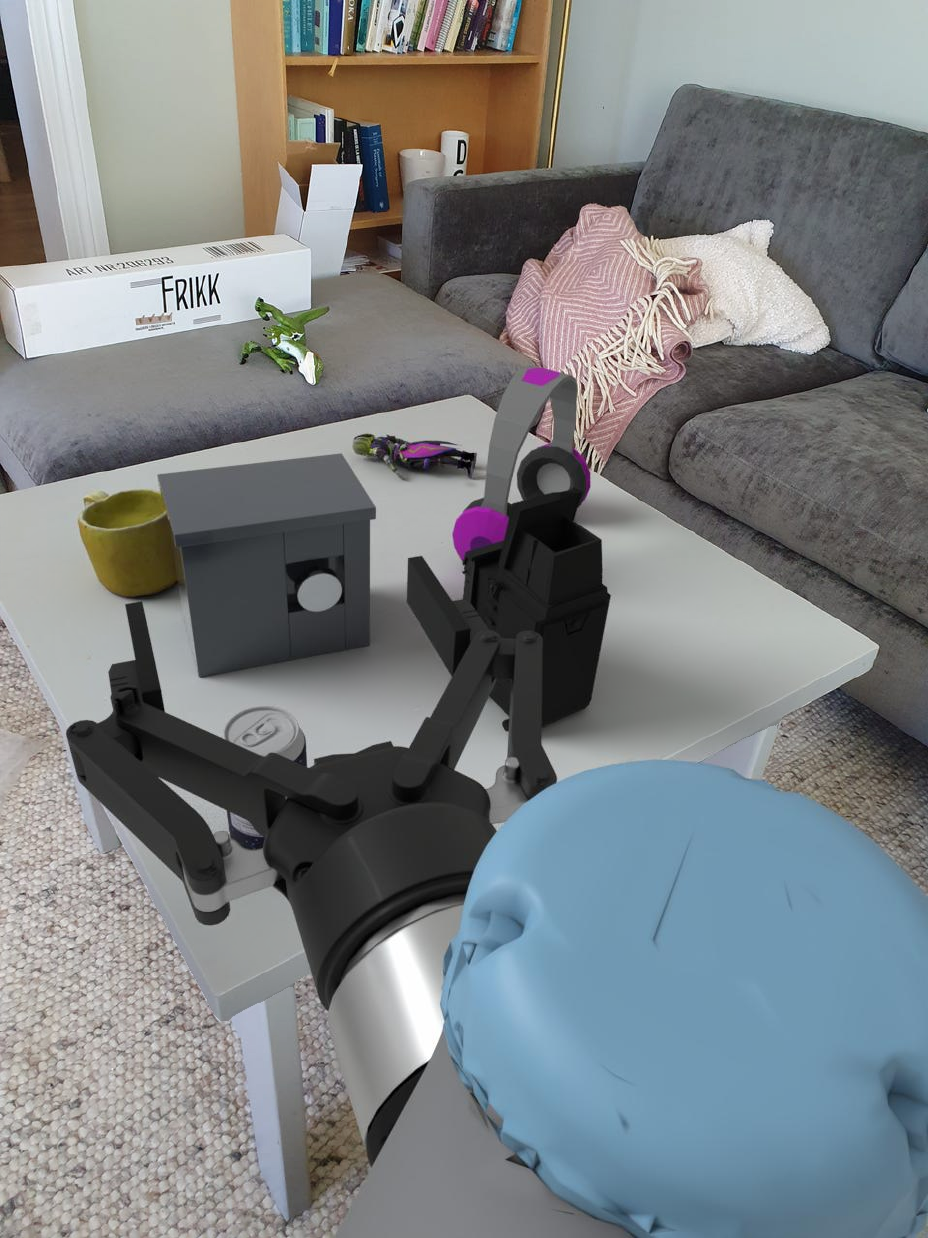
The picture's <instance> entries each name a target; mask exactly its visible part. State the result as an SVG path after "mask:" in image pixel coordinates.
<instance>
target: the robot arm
mask: <svg viewBox="0 0 928 1238" xmlns="http://www.w3.org/2000/svg"><path fill="white" fill-rule="evenodd" d="M406 579H407V580H406V604H407V605H408V606H409V608H410V610H411V612H412V613H413V615H414V617H415V618H416V620H417V622H418V623H419V625H420V627H421V628H422V630H423V631H424V633H425V635H426V637H427V638H428V640H429V641H430V643H431V645H432V646H433V648H434V650H435V652H436V654H437V655H438V656H439V658H440V659H441V662H442V663H443V665H444V666H445V668H446V670H447V671H448V674H449V675H450V677H451V678H450V680H449V682H448V684H447V686H446V687H445V689H444V691H443V693H442V694H441V697H440V698H439V700H438V702H437V704H436V706H435V707H434V709H433V711H432V713H431V715H430V716H426V717H425V718H424V720H423V721H422V723H421V725H420V727H419V729H418V730H417V732H416V734H415V736H414V738H413V739H412V741H411V743H410V745H409V747H405V746H400V745H394V744H393V742H392V740H388V741H385V742H384V741H383V742H381V743H376V744H372V745H370V746H368V747H365V748H363V749H361V750H359V751H357V752H352V753H335V754H333V753H332V754H328V755H324V756H320V757H317V758H313V765H312V766H309V767H308V766H307V767H306V766H303V765H301V764H299V763H297V762H294V761H292V760H290V759H288V758H286V757H283V756H281V755H279V754H277V753H273V752H272V753H269V754H268V755H267V756H261V755H258V754H256V753H254V752H252V751H250V750H247V749H245V748H243V747H241V746H239V745H236V744H234V743H232V742H230V741H228V740H225V739H223V738H222V737H221V736H218V735H216V734H215V733H213V732H210V731H208V730H206V729H203V728H201V727H199V726H198V725H197V726H196V725H195V724H193V723H190V722H188V721H185V720H183V719H181V718H179V717H177V716H175V715H172V714H170V713H168V712H166V710H165V703H164V698H163V693H162V692H163V691H162V686H161V683H160V678H159V674H158V669H157V664H156V660H155V655H154V651H153V650H154V649H153V646H152V640H151V636H150V631H149V626H148V623H147V616H146V612H145V607H144V603H143V601H136V602H130V603H129V602H128V603H125V604H124V606H125V607H124V608H125V611H126V617H127V622H128V623H127V624H128V627H129V632H130V639H131V643H132V649H133V655H134V659H132V660H126V661H122V662H116V663H111V665H110V668H109V669H108V680H109V686H110V687H109V688H110V701H111V707H112V712H111V714H110V715H109V716H108V717H106V718H105V719H103V720H102V721H99V722H96V721H94V720H92V719H91V720H90V719H83V720H78V721H75V722H73V723H72V724H70V725H69V726H68V728H67V729H66V730H65V736H66V740H67V744H68V748H69V751H70V755H71V759H72V763H73V766H74V767H73V768H74V770H75V774H76V778H77V781H78V782H79V784H81V786H83V787H84V788H85V789H86V790H87V791H88V792H89V793H90V794H91V795H92V796H93V797H94V799H96V800H97V801H98V802H99V803H100V804H101V805H102V806H103V807H104V808H105V809H107V810H108V811H109V812H110V814H112V815H113V817H115V818H116V819H117V820H118V821H119V822H120V823H121V824H122V825H123V826H124V827H125V828H126V829H127V830H128V831H129V832H130V833H131V834H132V835H133V836H135V838H136V839H138V840H139V841H140V842H141V843H142V844H143V845H144V846H145V847H146V848H147V849H148V850H149V851H150V852H151V853H152V854H153V855H154V856H155V857H157V859H159V860H160V861H161V862H162V863H163V864H164V865H165V866H166V867H167V868H168V869H169V870H170V871H171V872H172V873H173V874H174V875H175V876H176V877H177V878H178V879H179V880H180V881H181V882H182V883H183V886H184V889H185V892H186V894H187V898H188V900H189V903H190V906H191V909H192V911H193V914H194V917H195V919H196V921H197V922H198V923H200V924H202V925H204V926H209V927H211V926H216V925H219V924H221V923H222V922H225V920H227V918H228V917H229V916H230V913H231V903H230V902H232V901H234V900H237V899H241V898H242V897H245V896H248V895H251V894H254V893H256V892H259V891H261V890H264V889H267V888H269V887H273V888H274V889H276V890H277V891H278V892H280V894H281V895H283V896H284V897H285V899H286V900H287V901H288V903H289V905H290V907H291V909H292V913H293V916H294V920H295V923H296V926H297V930H298V932H299V936H300V939H301V943H302V946H303V950H304V953H305V957H306V959H307V964H308V966H309V970H310V972H311V977H312V980H313V983H314V987H315V990H316V993H317V996H318V999H319V1001H320V1004H321V1005H322V1006H323V1007H324V1009H325V1010H326V1011H327V1025H328V1033H329V1037H330V1040H331V1044H332V1047H333V1050H334V1052H335V1056H336V1060H337V1063H338V1066H339V1069H340V1072H341V1075H342V1079H343V1082H344V1086H345V1088H346V1092H347V1096H348V1098H349V1101H350V1105H351V1107H352V1111H353V1114H354V1118H355V1120H356V1124H357V1127H358V1130H359V1134H360V1137H361V1140H362V1143H363V1147H364V1150H365V1152H366V1157H367V1160H368V1163H369V1166H370V1170H369V1171H368V1173H367V1175H366V1177H365V1178H364V1180H363V1183H362V1184H361V1185H360V1188H359V1189H358V1191H357V1194H356V1195H355V1197H354V1199H353V1200H352V1203H350V1206H349V1208H348V1210H347V1212H346V1214H345V1215H344V1217H343V1219H342V1221H341V1223H340V1225H339V1226H338V1228H337V1230H336V1232H335V1234H334V1236H333V1238H917V1237H918V1236H919V1235H920V1234H921V1233H922V1232H923V1231H924V1230H925V1229H926V1224H927V1221H928V896H927V895H926V894H925V893H924V891H922V889H921V888H920V887H919V886H918V885H917V883H916V882H915V881H914V880H913V879H912V878H911V877H910V875H909V874H908V873H907V872H906V871H905V869H903V868H902V867H901V866H900V864H898V862H897V861H895V860H894V858H893V857H892V856H890V855H889V854H888V852H886V851H885V850H884V849H883V848H882V847H881V846H880V845H879V844H878V843H876V841H874V840H873V839H872V838H871V836H869V835H867V834H866V833H865V832H863V831H862V830H861V829H859V828H858V827H857V826H856V825H854V824H853V823H851V822H850V821H849V820H848V819H846V818H845V817H843V816H842V815H840V814H838V813H837V812H835V811H833V810H832V809H830V808H828V807H827V806H825V805H824V804H822V803H820V802H819V801H818V802H817V801H816V800H814V799H811V798H810V797H808V796H806V795H804V794H802V793H799V792H797V791H796V792H795V791H781V790H780V789H779V788H777V787H775V786H774V785H772V784H771V783H769V782H768V781H766V780H765V779H757V778H748V777H745V776H743V775H742V774H741V773H739V772H738V771H736V770H734V769H733V768H729V767H726V766H721V765H718V764H717V765H716V764H712V763H708V762H700V761H699V762H698V761H688V760H676V759H645V760H643V759H642V760H635V761H628V762H627V761H626V762H620V763H613V764H607V765H604V766H600V767H594V768H591V769H587V770H586V769H585V770H584V771H581V772H579V773H576V774H573V775H569V776H568V777H565V778H563V779H561V780H559V781H558V776H557V773H556V771H555V769H554V767H553V764H552V763H551V761H550V759H549V757H548V755H547V752H546V751H545V749H544V748H545V747H544V746H543V744H542V741H543V739H542V734H543V727H542V654H543V639H542V636H541V635H540V634H538V633H536V632H534V631H522V632H520V633H518V634H517V637H516V639H506V638H501V637H500V635H499V634H498V633H497V632H495V631H492V630H489V629H488V627H487V626H486V624H485V623H484V622H483V620H482V619H481V617H480V616H479V614H478V613H477V611H476V610H475V609H474V607H473V606H472V604H471V603H469V602H467V601H466V600H464V599H463V598H462V599H456V600H452V598H451V597H450V595H449V594H448V592H447V591H446V590H445V588H444V587H443V584H442V583H441V582H440V580H439V579H438V577H437V575H436V574H434V571H433V570H432V568H431V566H429V564H428V563H427V561H426V560H425V558H424V557H423V555H418V556H411V557H408V558H407V577H406ZM496 678H499V679H511V697H510V715H509V716H508V719H509V732H508V735H507V736H508V737H507V752H506V753H507V755H506V759H505V762H504V765H502V766H500V767H498V768H497V770H496V772H495V779H494V783H493V785H492V786H490V787H488V788H485V786H483V784H481V783H480V782H479V781H478V780H475V779H474V778H472V777H469V776H467V775H466V774H463V773H462V772H459V771H457V770H456V767H457V765H458V762H459V761H460V758H461V756H462V754H463V752H464V750H465V748H466V746H467V744H468V742H469V739H470V737H471V736H472V734H473V731H474V729H475V727H476V725H477V723H478V721H479V718H480V717H481V714H482V712H483V711H484V708H485V706H486V704H487V702H488V700H489V698H490V696H489V695H490V693H491V691H492V690H493V693H494V694H495V688H496ZM164 781H165V782H164ZM166 782H168V783H169V784H172V785H174V786H176V787H178V788H180V789H181V790H184V791H185V792H188V793H190V794H192V795H194V796H196V797H199V798H201V800H204V801H206V802H209V803H210V804H212V805H215V806H216V807H219V808H220V809H223V810H225V811H226V812H227V811H229V812H231V813H233V814H235V815H237V816H239V817H241V818H243V819H245V820H247V821H249V822H250V823H251V824H252V826H253V827H254V829H255V830H256V831H257V832H258V833H259V834H260V835H262V836H263V837H265V840H264V844H263V848H261V849H257V850H249V849H245V848H243V847H241V845H240V844H239V843H238V842H237V841H236V840H234V839H232V838H230V833H229V832H227V831H225V830H218V831H215V832H214V833H213V831H212V829H211V827H210V826H209V824H208V823H207V822H206V820H205V818H204V817H203V816H202V815H201V814H200V813H199V812H198V811H197V810H196V809H195V808H194V807H193V806H191V804H189V803H188V802H187V801H186V800H184V798H183V797H181V796H180V795H179V794H178V793H177V792H175V790H173V789H172V788H171V787H170V786H169V785H168V784H167V783H166ZM286 797H287V799H286ZM501 823H503V824H502V825H501V826H500V827H499V828H498V829H496V827H495V826H494V825H496V824H501Z"/></svg>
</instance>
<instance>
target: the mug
mask: <svg viewBox="0 0 928 1238" xmlns="http://www.w3.org/2000/svg"><path fill="white" fill-rule="evenodd" d="M83 504H84V508H83V509H82V510H81V511H80V512H79V514H78V519H77V524H78V530H79V535H80V538H81V542H82V544H83V546H84V548H85V551H86V553H87V555H88V558H89V561H90V563H91V565H92V567H93V571H94V573H95V575H96V578H97V580H98V582H99V583H100V584H101V585H102V587H104V589H106V590H107V591H109V592H110V593H112V594H115V595H116V596H120V597H124V598H137V597H141V596H149V595H150V596H151V595H155V594H157V593H160V592H162V591H163V590H167V589H169V588H170V587H172V586H173V585H174V584H175V583H176V582H178V579H177V572H176V565H175V559H174V552H173V545H172V538H171V531H170V525H169V521H168V517H167V514H166V510H165V506H164V503H163V499H162V495H161V492H160V490H154V489H150V488H135V489H134V488H133V489H126V490H122V491H118V492H115V493H112V494H110V495H109V494H108V493H107V492H105V491H103V490H95V491H93V492H91V493H89V494H86V495H85V496H84V497H83Z"/></svg>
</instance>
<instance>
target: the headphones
mask: <svg viewBox="0 0 928 1238" xmlns="http://www.w3.org/2000/svg"><path fill="white" fill-rule="evenodd" d="M578 389H579V387H578V382H577V378H576V377H575V376H573V375H571V374H567V373H563V372H560V371H557V370H554V369H549V368H545V367H541V366H537V365H533V364H530V365H527V366H524V367H521V368H520V369H519V370H518V371H517V372H516V373H515V375H513V376H512V377H511V379H510V380H509V382H508V384H507V387H506V388H505V390H504V392H503V394H502V397H501V400H500V402H499V405H498V407H497V411H496V414H495V417H494V421H493V425H492V430H491V435H490V440H489V444H488V453H487V462H486V470H485V471H486V472H485V483H484V493H483V495H484V496H483V497H482V498H479V499H475V500H472V501H471V502H470V503H469V504H468V505H467V506H466V507H465V508H464V509H463V511H462V513H461V514H459V516H458V517H457V518H456V520H455V522H454V526H453V530H452V541H453V546H454V547H453V548H454V550H455V551H456V553H457V555H458V557H459V559H460V561H461V562H462V561H463V558H464V556H465V553H466V551H470V550H473V549H476V548H480V547H483V546H486V545H490V544H493V543H496V542H500V541H503V540H504V538H505V533H506V529H507V525H508V520H509V516H510V512H511V507H512V503H510V502H509V497H510V492H511V486H512V481H513V477H514V472H515V469H516V464H517V460H518V456H519V453H520V451H521V449H522V447H523V445H524V443H525V441H526V439H527V437H528V435H529V433H530V430H531V429H532V427H533V425H534V424H535V422H536V421H537V419H538V417H539V415H540V413H541V411H542V410H543V408H544V407H545V405H546V404H547V403H548V401H549V400H550V404H551V408H552V415H553V416H552V417H553V424H552V425H553V426H552V439H551V441H550V442H548V443H546V444H543V445H540V446H538V447H536V448H534V449H531V450H530V451H529V452H528V453H527V454H526V455H525V456H524V457H523V458H522V460H521V461H520V463H519V466H518V469H517V472H516V485H517V486H516V487H517V489H518V492H519V494H520V497H521V499H522V501H524V500H527V499H531V498H535V497H538V496H542V495H545V494H549V493H552V492H563V491H567V490H571V489H572V488H573V487H574V488H576V489H579V490H581V491H583V493H582V496H581V499H580V502H579V506H578V508H580V507H581V506H582V504H583V503H584V501H586V499H587V496H588V494H589V492H590V489H591V484H592V483H591V470H590V468H589V466H588V463H587V461H586V459H585V458H584V457H583V456H582V455H581V454H580V452H578V451H577V449H575V448H574V438H575V430H576V424H577V404H578V391H579V390H578Z"/></svg>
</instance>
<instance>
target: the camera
mask: <svg viewBox="0 0 928 1238" xmlns="http://www.w3.org/2000/svg"><path fill="white" fill-rule="evenodd" d="M582 493H583V491H581V490H579V489H576V488H574V487H573V488H572V489H571V490H567V491H563V492H552V493H549V494H545V495H542V496H538V497H535V498H531V499H527V500H524V501H523V500H520V501H516V502H512V503H511V504H512V507H511V512H510V516H509V520H508V525H507V529H506V533H505V538H504V540H503V541H500V542H496V543H493V544H490V545H486V546H483V547H480V548H476V549H473V550H470V551H466V553H465V556H464V558H463V561H462V560H461V564H462V566H463V570H462V572H461V573H462V575H464V584H463V585H464V586H463V594H462V599H464V600H466V601H467V602H469V603H471V604H472V606H473V607H474V609H475V610H476V611H477V613H478V614H479V616H480V617H481V619H482V620H483V622H484V623H485V624H486V626H487V627H488V629H489V630H492V631H495V632H497V633H498V634H499V635H500V637H501V638H506V639H516V637H517V634H518V633H520V632H522V631H534V632H536V633H538V634H540V635H541V636H542V639H543V654H542V728H543V727H546V726H548V725H551V724H552V723H555V722H557V721H559V720H562V719H564V718H567V717H569V716H571V715H573V714H575V713H578V712H580V711H582V710H585V709H587V708H588V707H589V706H590V704H591V702H592V698H593V692H594V688H595V681H596V676H597V672H598V666H599V661H600V655H601V650H602V644H603V639H604V634H605V630H606V624H607V619H608V613H609V609H610V602H611V597H612V595H611V593H609V592H608V587H607V586H606V585H605V584H604V583H603V540H602V538H600V537H598V536H597V535H596V534H595V533H593V532H591V531H590V530H589V529H586V528H585V527H584V526H583V525H580V524H579V523H577V522H575V518H576V514H577V511H578V509H579V507H580V506H579V502H580V499H581V496H582ZM578 506H579V507H578ZM510 697H511V679H499V678H496V688H495V694H494V693H493V690H492V691H491V693H490V695H489V698H490V699H492V700H493V702H494V703H495V704H496V705H497V706H498V707H499V708H500V709H501V710H502V711H503V712H504V714H506V715H507V717H509V715H510ZM501 726H502V728H503V730H504V731H505V732H507V733H509V718H506V719H504V720H502V722H501Z"/></svg>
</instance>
